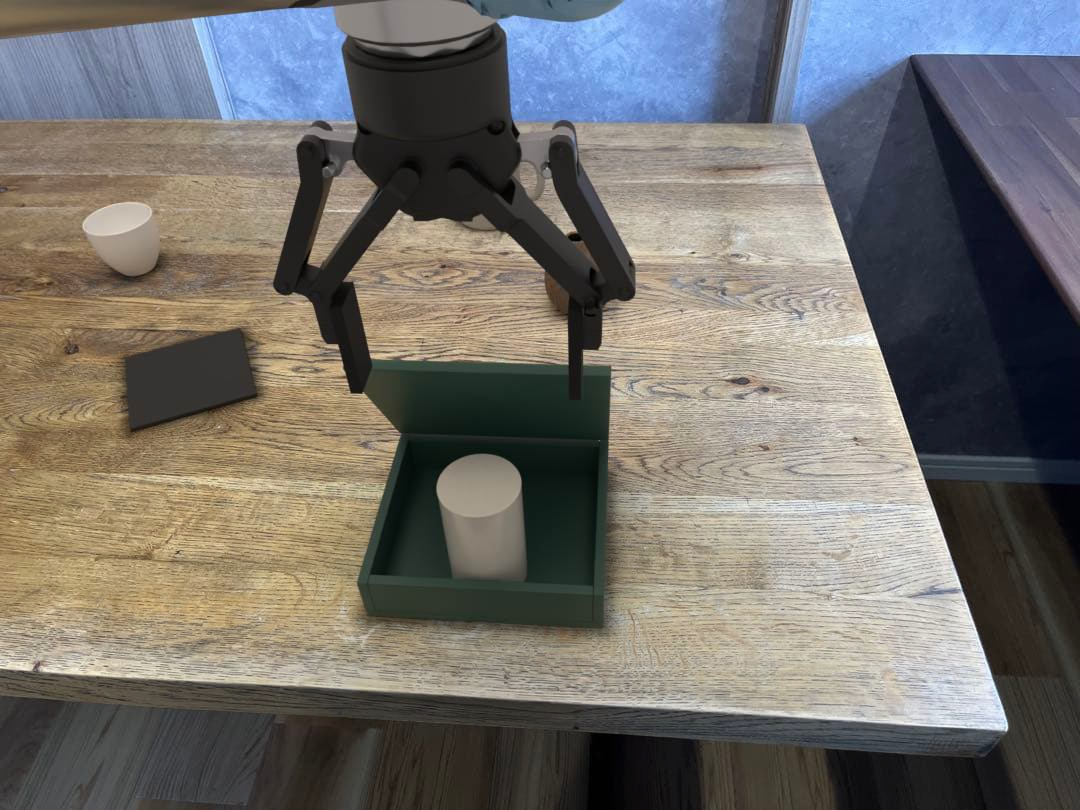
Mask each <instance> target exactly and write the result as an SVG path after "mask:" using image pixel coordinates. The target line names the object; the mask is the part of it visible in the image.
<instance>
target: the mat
mask: <svg viewBox="0 0 1080 810" xmlns="http://www.w3.org/2000/svg"><path fill="white" fill-rule="evenodd" d="M124 365H125V378H126V379H125V380H126V382H125V383H126V394H127V395H126V396H127V408H128V426H129V430H130V432H134V431H138V430H142V429H145V428H148V427H153V426H157V425H159V424H163V423H167V422H170V421H173V420H174V421H175V420H178V419H181V418H185V417H188V416H191V415H195V414H198V413H203V412H205V411H209V410H214V409H217V408H219V407H221V408H222V407H225V406H227V405H232V404H235V403H239V402H242V401H246V400H248V399H253V398H255V397H258V393H257V389H256V384H255V381H254V377H253V372H252V369H251V365H250V361H249V356H248V352H247V349H246V345H245V341H244V337H243V333H242V329H241V327H237V328H234V329H229V330H226V331H222V332H218V333H215V334H210V335H207V336H203V337H198V338H194V339H191V340H187V341H183V342H178V343H175V344H172V345H167V346H164V347H160V348H155V349H152V350H148V351H144V352H141V353H136V354H133V355H128V356H124Z"/></svg>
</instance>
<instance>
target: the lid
mask: <svg viewBox="0 0 1080 810" xmlns="http://www.w3.org/2000/svg"><path fill="white" fill-rule="evenodd" d="M371 361H372V369H371V372H370V374H369V377H368V380H367V383H366V386H365V388H364V391H363V394H365V396H366V397H367V398H368V399H369V400H370V402H372V404H373V405H374V406H375V407H376V408H377V409H378V410H379V411H380V413H381V414H382V415H383V416H384V417H385V418H386V420H388V421H389V423H390V424H391V425H392V426H393V427H394V429H396V431H398V433H399V434H401V433H405V434H434V435H463V436H492V437H521V438H550V439H579V440H599V441H600V440H608V441H610V425H611V424H610V423H611V422H610V421H611V394H612V390H611V389H612V365H600V364H599V365H598V364H597V365H596V364H583V383H582V397H581V400H569V371H568V364H566V363H565V364H561V363H559V364H558V363H524V362H523V363H521V362H520V363H519V362H490V361H489V362H487V361H485V362H483V361H450V360H449V361H448V360H447V361H446V360H445V361H444V360H416V359H415V360H410V359H378V358H377V359H375V358H373V359H372V358H371ZM342 370H343V371H344V372H345V370H344V366H343V365H342Z"/></svg>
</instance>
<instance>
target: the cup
mask: <svg viewBox="0 0 1080 810" xmlns="http://www.w3.org/2000/svg"><path fill="white" fill-rule="evenodd" d="M81 226H82V230H83V233H84V235H85V236H86V239H87V240H88V242H89V244H90V246H91V248H92V249H93V251H94V252H95V254H96V255H97V256H98V257H99V259H100V260H102V261H103V262H104V263H105V264H106V265H107V266H109V267H110V268H112V269H113V270H114V271H116V272H118V273H119V274H121V275H123V276H125V277H137V276H142V275H145V274H147V273H150V272H151V271H152V270H153V269H154V268H155V267H156V266H157V262H158V260H159V256H160V251H161V234H160V229H159V226H158V222H157V220H156V217H155V214H154V211H153V209H152V208H151V207H150V206H149V205H148V204H146V203H143V202H138V201H125V202H124V201H123V202H117V203H114V204H113V203H112V204H109V205H107V206H104V207H101V208H99V209H97V210H95V211H94V212H92V213H90V214H89V215H88V216H87V217H86V218H85V219H84V220H83V222H82V225H81Z"/></svg>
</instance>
